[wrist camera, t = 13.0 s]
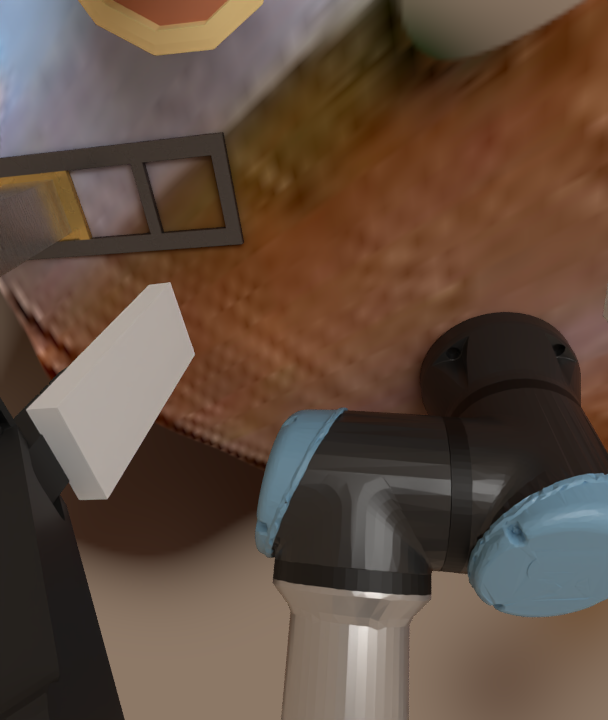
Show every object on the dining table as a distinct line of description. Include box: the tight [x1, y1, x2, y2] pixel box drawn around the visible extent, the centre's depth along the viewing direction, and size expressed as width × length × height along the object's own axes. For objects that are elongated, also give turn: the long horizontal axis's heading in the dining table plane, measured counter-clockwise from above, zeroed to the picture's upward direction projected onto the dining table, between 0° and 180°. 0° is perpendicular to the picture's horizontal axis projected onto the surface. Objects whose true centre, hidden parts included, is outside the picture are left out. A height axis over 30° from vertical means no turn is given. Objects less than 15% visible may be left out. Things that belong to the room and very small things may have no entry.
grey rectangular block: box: [0, 179, 72, 277], centre depth 42 cm, size 5×5×11 cm
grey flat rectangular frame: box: [0, 132, 244, 260], centre depth 45 cm, size 10×24×1 cm, turn 97°
